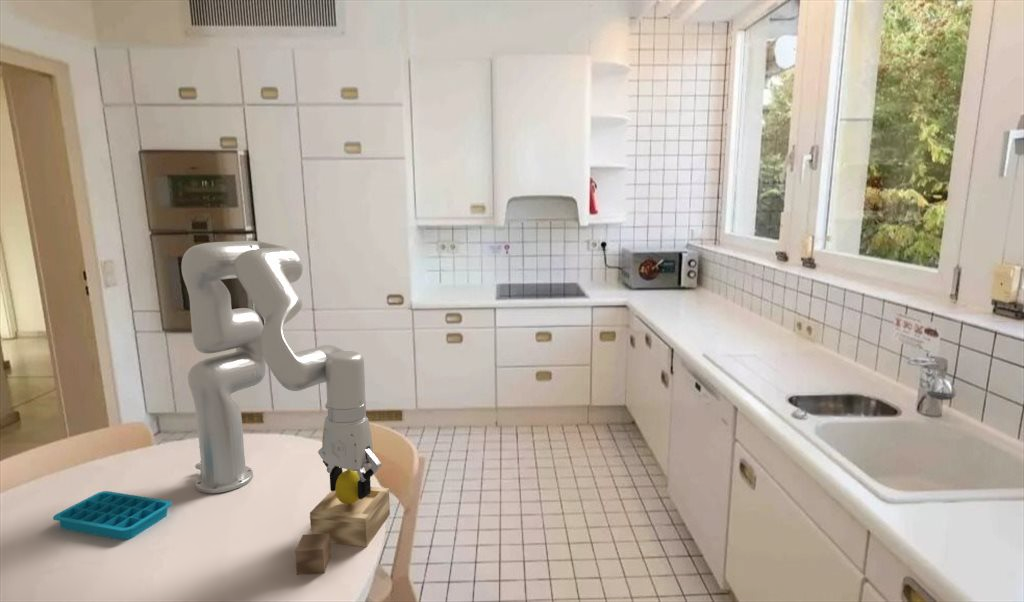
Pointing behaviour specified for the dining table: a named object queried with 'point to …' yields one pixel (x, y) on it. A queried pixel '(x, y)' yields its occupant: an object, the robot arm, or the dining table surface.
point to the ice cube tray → (113, 514)
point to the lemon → (347, 487)
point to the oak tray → (351, 517)
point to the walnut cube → (313, 554)
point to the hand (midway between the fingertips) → (350, 491)
